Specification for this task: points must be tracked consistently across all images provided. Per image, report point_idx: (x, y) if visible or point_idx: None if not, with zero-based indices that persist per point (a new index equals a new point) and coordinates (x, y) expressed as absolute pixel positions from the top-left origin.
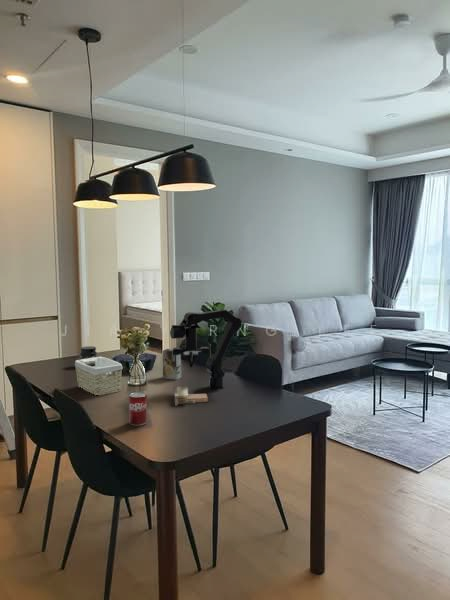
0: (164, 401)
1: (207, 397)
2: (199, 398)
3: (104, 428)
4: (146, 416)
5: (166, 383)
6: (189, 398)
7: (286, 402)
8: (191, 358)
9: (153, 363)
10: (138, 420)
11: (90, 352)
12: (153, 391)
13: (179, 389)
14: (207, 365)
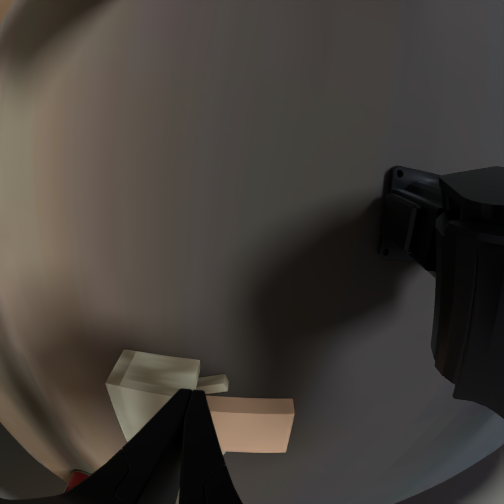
0: (98, 398)
1: (285, 450)
2: (247, 450)
3: (46, 467)
4: None
5: (70, 57)
6: None
7: (493, 422)
8: (179, 494)
9: None
10: None
11: None
12: (15, 240)
13: (142, 424)
14: (468, 288)
